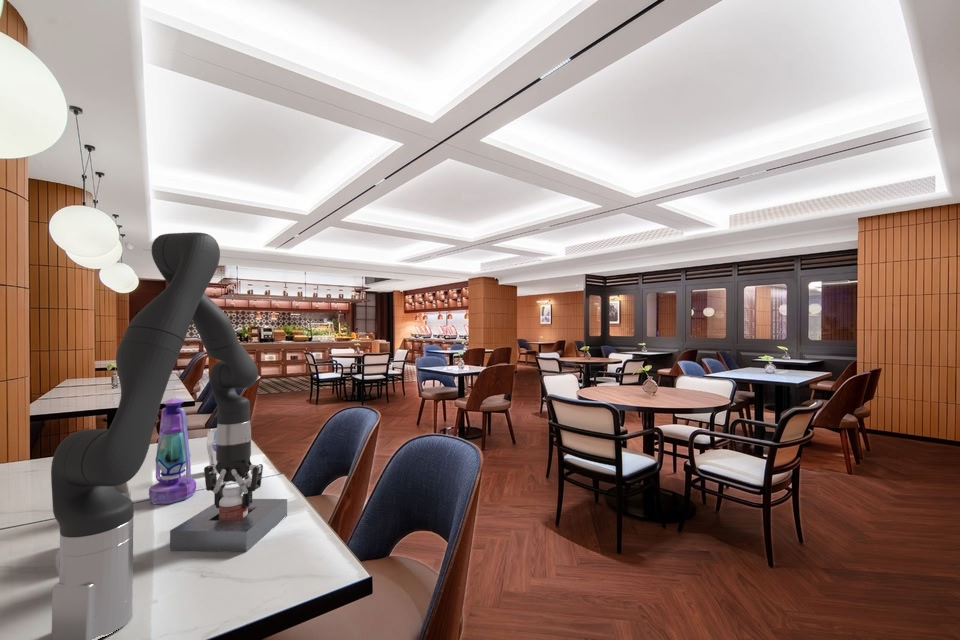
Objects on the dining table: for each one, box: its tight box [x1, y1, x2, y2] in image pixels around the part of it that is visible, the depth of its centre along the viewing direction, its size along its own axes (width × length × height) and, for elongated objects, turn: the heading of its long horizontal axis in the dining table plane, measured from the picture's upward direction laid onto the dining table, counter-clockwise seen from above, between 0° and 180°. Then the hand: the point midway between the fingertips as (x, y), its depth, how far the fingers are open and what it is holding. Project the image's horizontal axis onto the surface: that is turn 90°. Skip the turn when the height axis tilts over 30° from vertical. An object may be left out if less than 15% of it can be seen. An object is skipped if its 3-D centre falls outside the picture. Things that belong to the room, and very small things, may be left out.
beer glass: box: [206, 427, 220, 475], centre depth 147 cm, size 7×7×15 cm
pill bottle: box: [219, 483, 248, 521], centre depth 103 cm, size 6×6×11 cm
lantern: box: [148, 397, 197, 505], centre depth 124 cm, size 13×12×30 cm
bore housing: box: [169, 498, 288, 553], centre depth 103 cm, size 18×18×4 cm
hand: (233, 506), depth 103 cm, fingers closed on pill bottle, 6 cm apart
